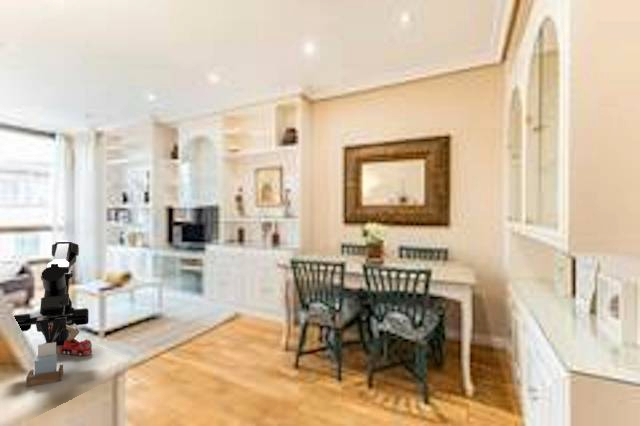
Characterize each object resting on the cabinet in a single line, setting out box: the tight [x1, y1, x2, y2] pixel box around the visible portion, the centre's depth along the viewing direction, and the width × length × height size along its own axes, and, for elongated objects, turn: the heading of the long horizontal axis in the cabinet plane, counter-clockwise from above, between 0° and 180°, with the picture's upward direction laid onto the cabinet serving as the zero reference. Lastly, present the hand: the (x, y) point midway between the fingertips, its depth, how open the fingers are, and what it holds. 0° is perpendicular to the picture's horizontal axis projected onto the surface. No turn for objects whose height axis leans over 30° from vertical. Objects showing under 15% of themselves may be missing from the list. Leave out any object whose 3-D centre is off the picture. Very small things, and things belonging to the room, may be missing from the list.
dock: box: [25, 364, 64, 388], centre depth 104 cm, size 11×8×2 cm, turn 30°
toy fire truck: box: [51, 323, 93, 357], centre depth 120 cm, size 3×14×10 cm, turn 78°
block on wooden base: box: [34, 342, 58, 375], centre depth 101 cm, size 4×4×9 cm
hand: (49, 345), depth 106 cm, fingers closed
